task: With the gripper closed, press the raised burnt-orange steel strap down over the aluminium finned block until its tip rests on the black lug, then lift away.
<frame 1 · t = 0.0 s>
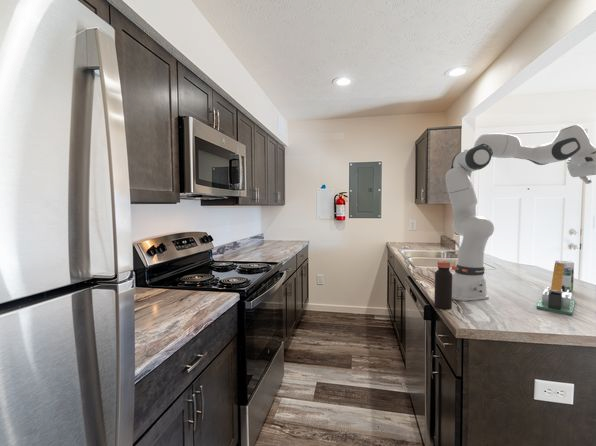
bottle: (442, 307, 126), on the counter
strap: (557, 277, 125), point 12 cm above the counter, hinge at 35.0°
syrup box: (563, 289, 150), on the counter
heatsink mount: (556, 304, 127), on the counter
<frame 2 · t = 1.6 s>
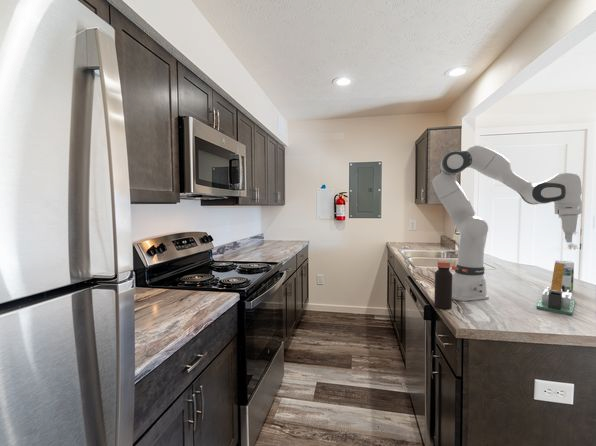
hand: (568, 241, 127), 28 cm above the counter, tool pointing down, fingers open, 8 cm apart
nothing on the counter moved.
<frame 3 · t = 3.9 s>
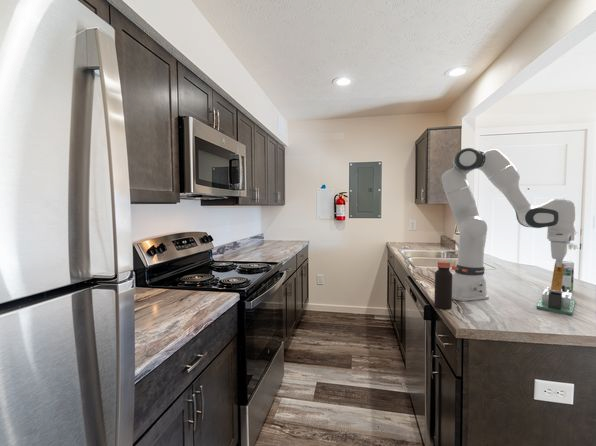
hand: (559, 266, 128), 17 cm above the counter, tool pointing down, fingers closed
strap: (557, 277, 125), point 12 cm above the counter, hinge at 34.6°, touching gripper
everything else where it was.
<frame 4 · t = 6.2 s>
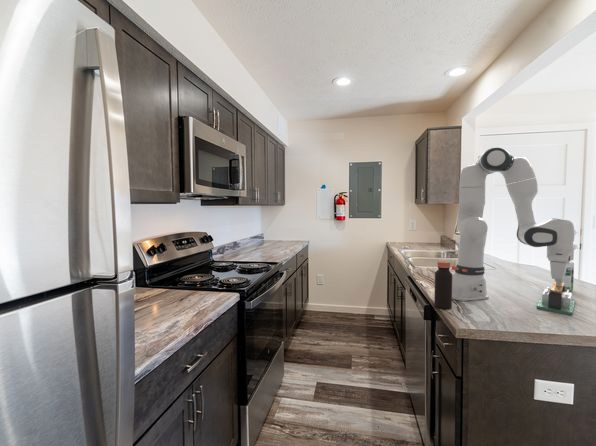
hand: (558, 285, 128), 8 cm above the counter, tool pointing down, fingers closed, pressing on strap
strap: (557, 287, 126), point 8 cm above the counter, hinge at 1.5°, touching gripper
everything else where it was.
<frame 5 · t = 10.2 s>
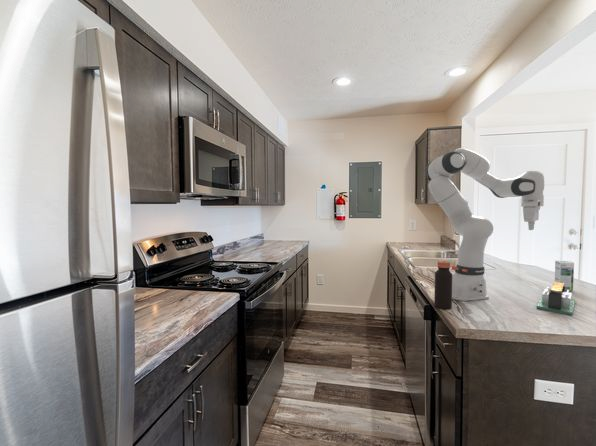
hand: (531, 229, 148), 31 cm above the counter, tool pointing down, fingers closed
strap: (557, 287, 126), point 8 cm above the counter, hinge at 1.4°
everything else where it was.
at the end: strap at +1° (first picture: +35°) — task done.
